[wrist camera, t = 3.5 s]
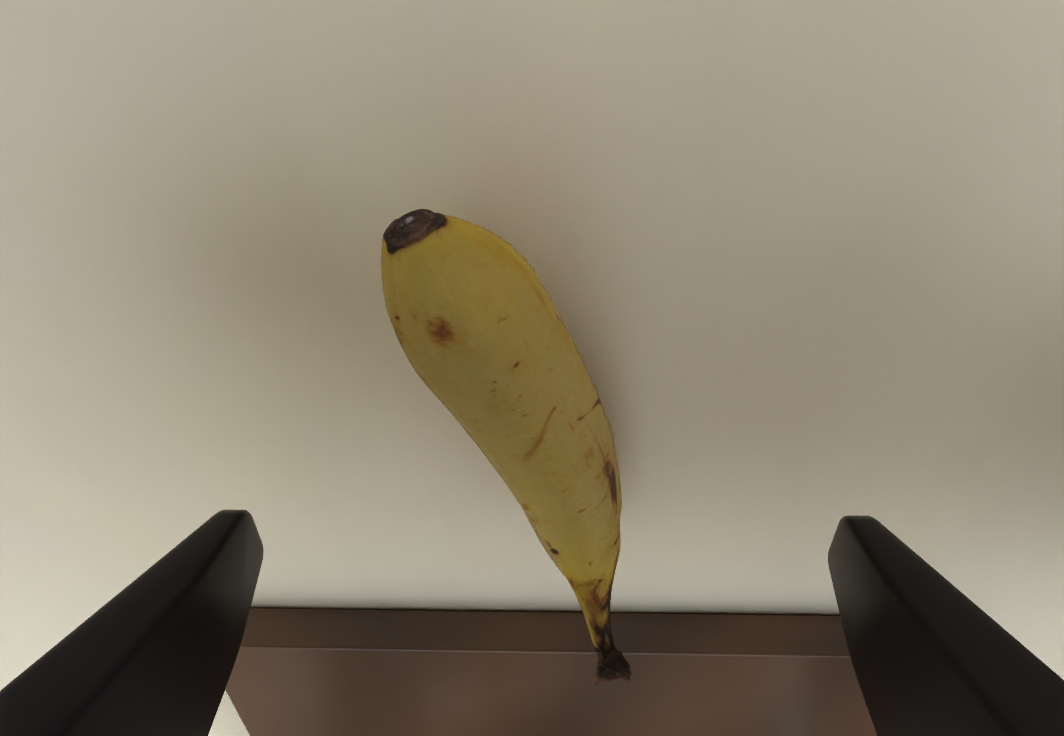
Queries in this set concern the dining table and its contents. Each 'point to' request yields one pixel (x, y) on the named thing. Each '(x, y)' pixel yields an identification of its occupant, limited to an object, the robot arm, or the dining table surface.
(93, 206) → the dining table surface
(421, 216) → the banana
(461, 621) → the walnut board
